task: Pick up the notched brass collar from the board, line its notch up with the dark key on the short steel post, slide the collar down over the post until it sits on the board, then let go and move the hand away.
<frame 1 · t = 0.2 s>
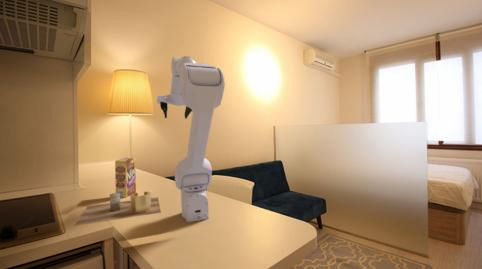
hand: (175, 116, 94), 31 cm above the countertop, tool tilted 45°, fingers open, 7 cm apart
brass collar: (141, 209, 74), point 1 cm above the countertop, touching keyed post board
candy box: (126, 198, 92), on the countertop
keyed post board: (122, 213, 76), on the countertop
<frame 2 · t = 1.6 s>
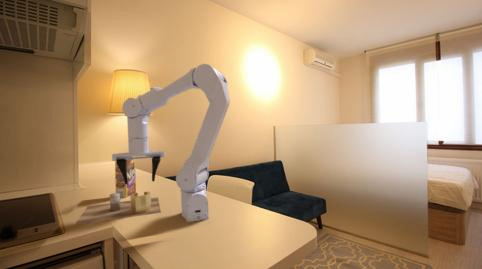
hand: (140, 182, 74), 10 cm above the countertop, tool pointing down, fingers open, 7 cm apart
nothing on the countertop moved.
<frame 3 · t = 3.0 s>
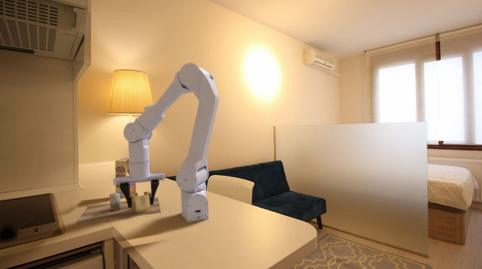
hand: (141, 205, 74), 3 cm above the countertop, tool pointing down, fingers closed on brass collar, 6 cm apart
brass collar: (141, 209, 74), point 1 cm above the countertop, touching gripper, keyed post board
everything else where it was.
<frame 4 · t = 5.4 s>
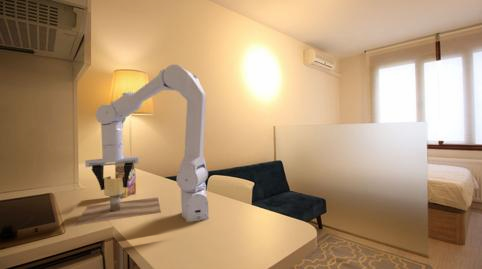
hand: (114, 188, 75), 8 cm above the countertop, tool pointing down, fingers closed on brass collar, 6 cm apart
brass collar: (114, 193, 75), point 7 cm above the countertop, touching gripper
everything else where it was.
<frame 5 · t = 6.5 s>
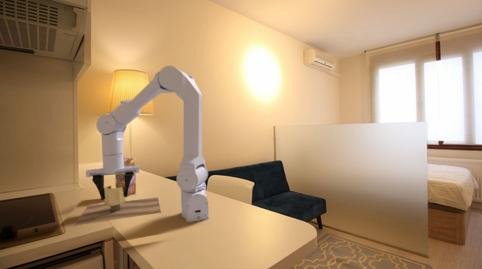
hand: (114, 197, 75), 5 cm above the countertop, tool pointing down, fingers closed on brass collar, 6 cm apart
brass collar: (115, 202, 75), point 4 cm above the countertop, touching gripper
everything else where it was.
when the fingers open (5 cm above the countertop, at t = 7.7 s): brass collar drops 2 cm, resting on keyed post board.
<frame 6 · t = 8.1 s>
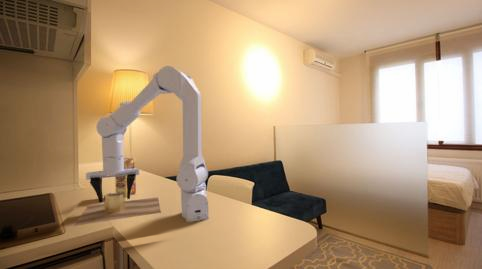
hand: (115, 199, 75), 5 cm above the countertop, tool pointing down, fingers open, 7 cm apart
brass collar: (115, 210, 75), point 1 cm above the countertop, touching keyed post board
everything else where it was.
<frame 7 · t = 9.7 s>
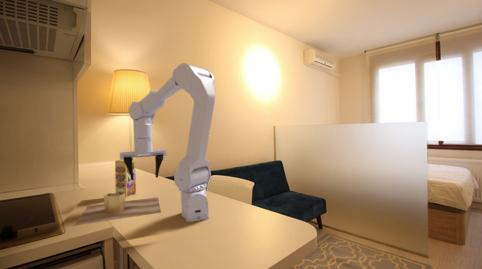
hand: (144, 178, 81), 10 cm above the countertop, tool pointing down, fingers open, 7 cm apart
nothing on the countertop moved.
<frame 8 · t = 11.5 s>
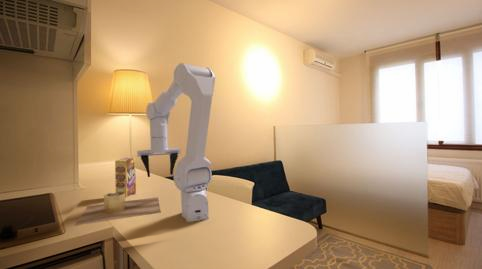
hand: (160, 175, 85), 10 cm above the countertop, tool pointing down, fingers open, 7 cm apart
nothing on the countertop moved.
at the end: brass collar 0.1 cm from the target spot on the keyed post board, point 1.5 cm above the keyed post board's base; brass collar tilted 0°; the gripper is holding nothing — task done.
